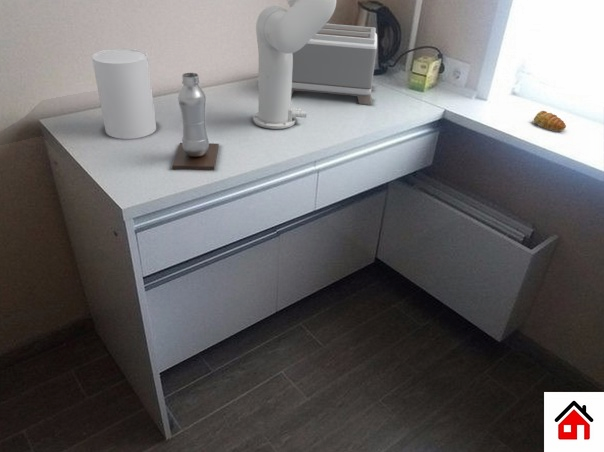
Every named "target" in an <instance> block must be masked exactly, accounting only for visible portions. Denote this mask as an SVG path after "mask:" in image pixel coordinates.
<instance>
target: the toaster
mask: <svg viewBox="0 0 604 452" xmlns="http://www.w3.org/2000/svg"><path fill="white" fill-rule="evenodd" d="M376 30H377V29H376V27H372V26H361V25H360V26H359V25H349V24H348V25H347V24H335V23H326V24H325V25H324V26H323V27H322V28H321V29H320V30H319V31H318V32H317V33H316V34H315V35H314V36H313V37H312V38H311V39H310V40H309V41H308V42H307V43H306V45H304V46H303V47H302V48H301V49H300V50H298V51H297V52H294V53H292V54H293V70H292V93H291V96H292V95H293V93H294V91H299V92H300V91H301V92H309V93H310V92H311V93H321V94H332V95H343V96H354V97H355V96H356V97H357V103H358V104H359V105H366V106H372V105H373V104H372V103H373V101H372V100H373V99H372V94H371V93H372V92H373V82H374V74H375V65H376V59H377V50H378V34H377V33H376Z"/></svg>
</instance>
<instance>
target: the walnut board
mask: <svg viewBox="0 0 604 452" xmlns="http://www.w3.org/2000/svg"><path fill="white" fill-rule="evenodd" d="M219 148H220V147H219V143H213V142H212V143H210V142H209V149H208V151H207V153H206V154H204V155H202V156H197V157H193V156H189V155H187V154H186V153H185V152H184V150H183V147H182V142H180V143H179V145H178V147H177V150H176V154H175V157H174V159H173V162H172V165H171V167H172V170H188V171H189V170H191V171H192V170H193V171H215V167H216V162H217V158H218V153H219Z"/></svg>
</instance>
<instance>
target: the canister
mask: <svg viewBox="0 0 604 452" xmlns="http://www.w3.org/2000/svg"><path fill="white" fill-rule="evenodd" d="M91 60H92V66H93V70H94V75H95V81H96V82H95V83H96V86H97V92H98V99H99V103H100V108H101V114H102V120H103V123H104V124H103V125H104V130H105V133H106V135H108V136H110V137H112V138H115V139H123V140H134V139H140V138H144V137H147V136H149V135H151V134H153V133H154V132H155V131H156V130H157V120H156V112H155V106H154V96H153V88H152V79H151V73H150V72H151V71H150V64H149V55H148V53H147V52H146V51H143V50H141V49H135V48H124V47H123V48H122V47H121V48H120V47H119V48H109V49H103V50H100V51H97V52H95V53H93V54H92V55H91Z"/></svg>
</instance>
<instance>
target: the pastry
mask: <svg viewBox="0 0 604 452" xmlns="http://www.w3.org/2000/svg"><path fill="white" fill-rule="evenodd" d="M533 122H534V124H535V125H539V127H541V128H544V129H546V130H549V131H555V132H561V131H564V130H565V129H566V128H567V125H566V123H565V121H564V120H563V119H562V118H560V117H558V115H557V114H553V113H552V112H547V111H546V110H541V111H539V112H538V113H536V115H535V116H534V118H533Z"/></svg>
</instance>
